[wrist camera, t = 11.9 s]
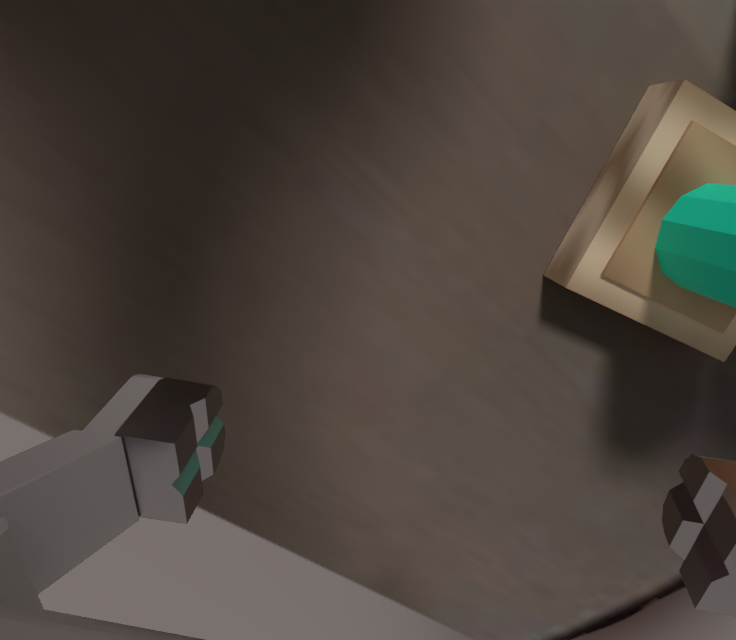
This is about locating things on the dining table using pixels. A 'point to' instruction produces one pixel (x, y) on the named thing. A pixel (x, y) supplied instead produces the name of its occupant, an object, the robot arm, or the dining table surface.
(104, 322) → the dining table surface
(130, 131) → the dining table surface
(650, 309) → the base block
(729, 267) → the candle
